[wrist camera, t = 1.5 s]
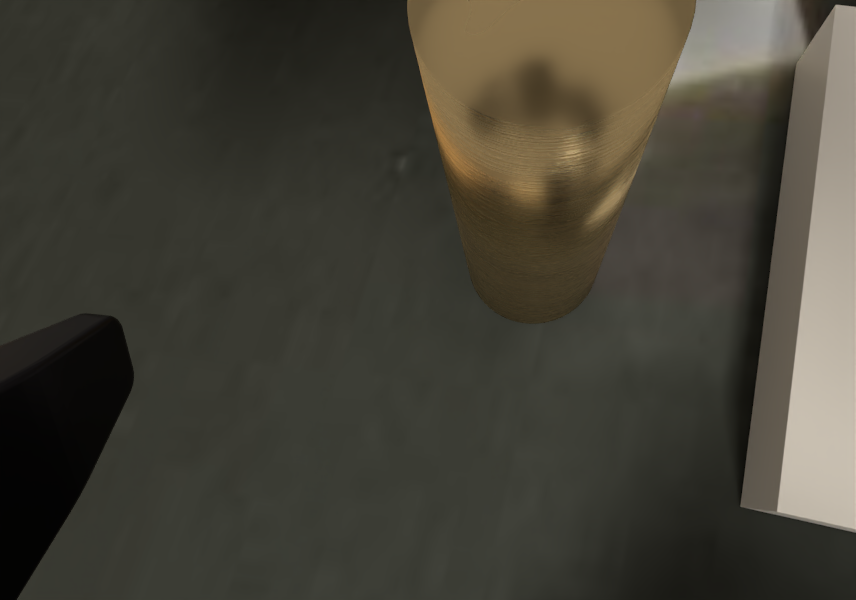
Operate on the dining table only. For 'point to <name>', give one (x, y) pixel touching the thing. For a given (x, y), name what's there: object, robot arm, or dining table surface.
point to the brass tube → (543, 131)
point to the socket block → (812, 301)
